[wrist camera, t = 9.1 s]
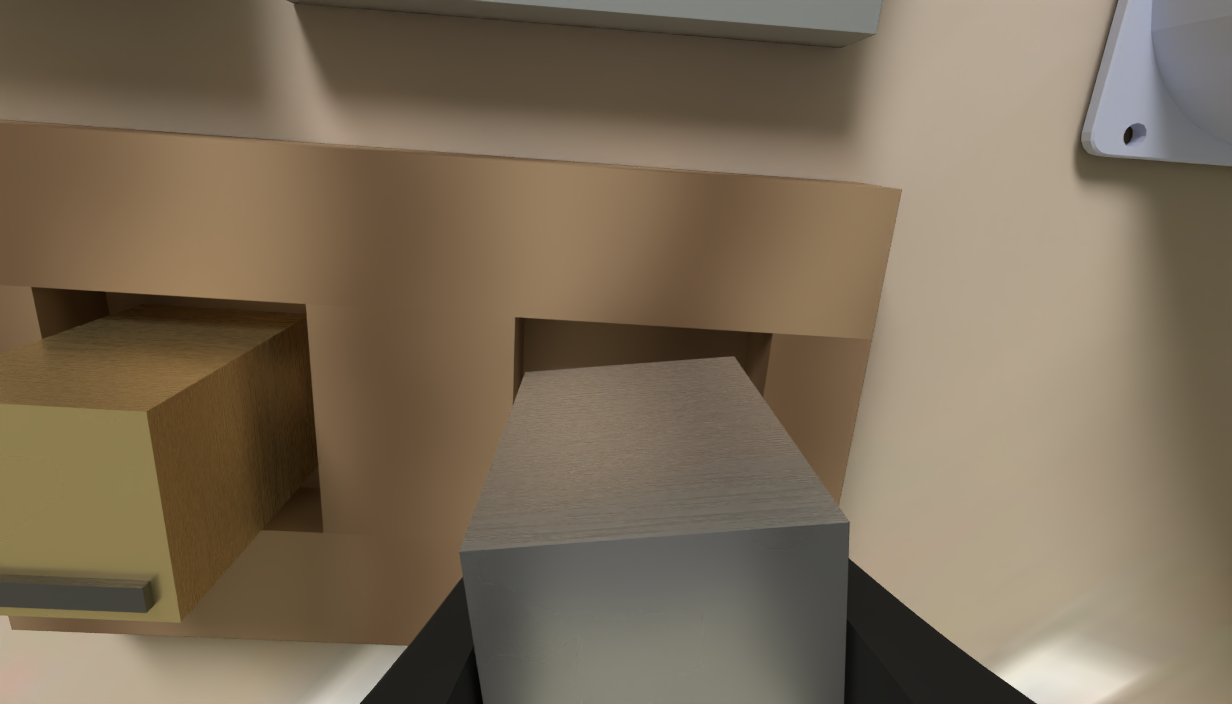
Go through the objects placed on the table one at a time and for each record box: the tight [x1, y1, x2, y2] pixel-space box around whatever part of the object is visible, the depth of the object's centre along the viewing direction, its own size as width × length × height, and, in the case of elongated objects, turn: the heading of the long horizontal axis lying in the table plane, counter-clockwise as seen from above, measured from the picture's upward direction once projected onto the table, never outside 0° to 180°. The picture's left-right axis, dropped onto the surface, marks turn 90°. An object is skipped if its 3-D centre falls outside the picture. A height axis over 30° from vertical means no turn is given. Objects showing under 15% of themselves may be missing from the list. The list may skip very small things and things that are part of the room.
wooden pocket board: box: [0, 120, 902, 646], centre depth 16 cm, size 20×12×2 cm, turn 86°
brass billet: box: [0, 304, 318, 623], centre depth 13 cm, size 4×4×6 cm
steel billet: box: [459, 356, 850, 704], centre depth 10 cm, size 4×4×6 cm
